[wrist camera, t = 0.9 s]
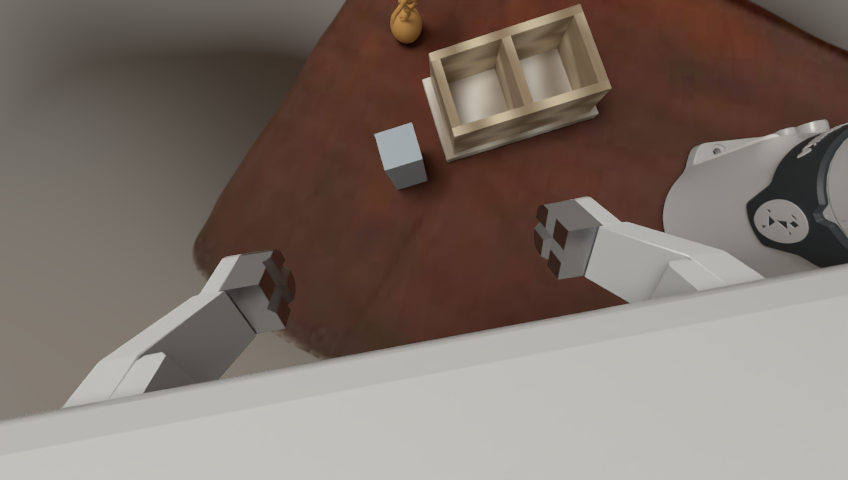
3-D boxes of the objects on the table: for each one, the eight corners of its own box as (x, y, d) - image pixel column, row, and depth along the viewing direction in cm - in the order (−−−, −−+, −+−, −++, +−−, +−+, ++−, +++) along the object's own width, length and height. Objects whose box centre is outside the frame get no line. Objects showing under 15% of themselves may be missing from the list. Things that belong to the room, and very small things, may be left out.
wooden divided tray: (565, 38, 38) (587, -4, 32) (594, 117, 37) (622, 89, 31) (422, 84, 39) (418, 52, 33) (446, 162, 38) (446, 144, 32)
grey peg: (418, 151, 39) (411, 122, 31) (427, 180, 38) (422, 158, 30) (389, 160, 39) (374, 134, 31) (397, 190, 38) (384, 170, 31)
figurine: (410, 4, 40) (395, -106, 28) (449, 22, 40) (451, -82, 28) (380, 57, 40) (352, -31, 28) (419, 76, 39) (408, -6, 28)
